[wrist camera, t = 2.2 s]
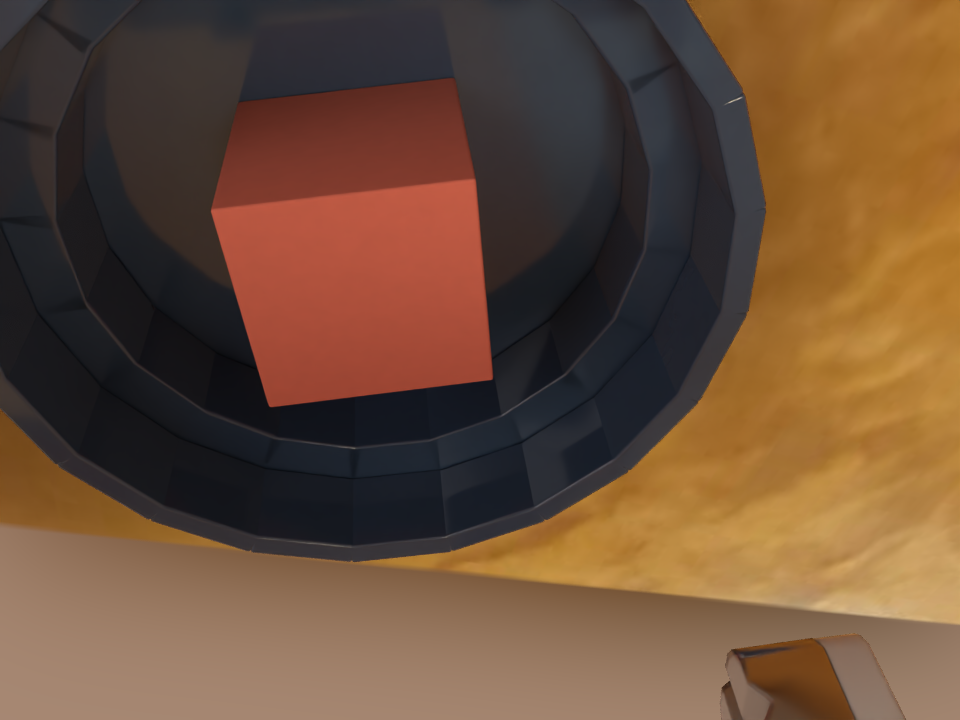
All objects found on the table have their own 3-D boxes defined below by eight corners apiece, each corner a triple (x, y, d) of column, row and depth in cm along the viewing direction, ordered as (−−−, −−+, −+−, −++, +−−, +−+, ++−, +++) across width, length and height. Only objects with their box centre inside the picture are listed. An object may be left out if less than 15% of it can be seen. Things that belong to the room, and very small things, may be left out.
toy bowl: (15, 377, 24) (-51, 524, 20) (-9, -331, 15) (-138, -313, 11) (565, 450, 28) (599, 587, 24) (806, -82, 19) (923, -4, 15)
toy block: (283, 282, 22) (268, 408, 19) (237, 101, 19) (209, 209, 16) (472, 259, 22) (493, 380, 19) (454, 76, 19) (475, 178, 16)
